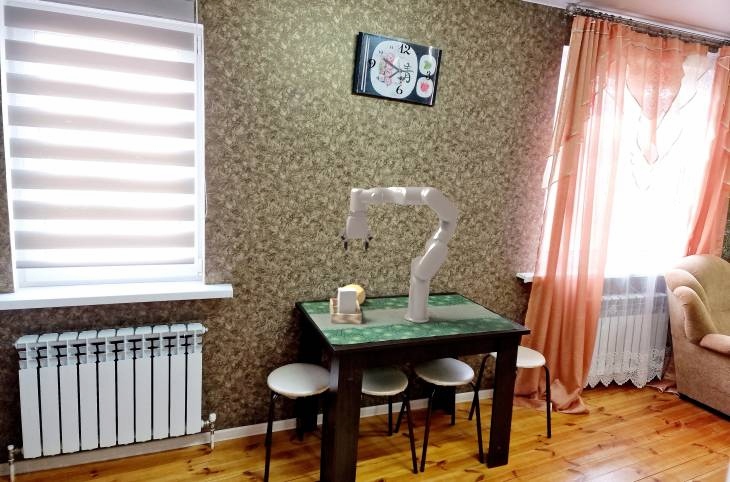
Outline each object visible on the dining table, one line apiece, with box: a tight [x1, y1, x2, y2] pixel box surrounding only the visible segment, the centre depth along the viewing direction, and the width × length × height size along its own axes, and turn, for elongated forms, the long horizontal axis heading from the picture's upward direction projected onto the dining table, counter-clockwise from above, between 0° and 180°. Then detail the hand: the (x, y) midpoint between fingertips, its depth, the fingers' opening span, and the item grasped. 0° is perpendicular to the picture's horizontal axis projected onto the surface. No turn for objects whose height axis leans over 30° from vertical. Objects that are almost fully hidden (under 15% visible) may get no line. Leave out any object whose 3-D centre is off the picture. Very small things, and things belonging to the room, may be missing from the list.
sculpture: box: [343, 283, 366, 306], centre depth 249 cm, size 12×12×11 cm
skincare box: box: [337, 287, 357, 314], centre depth 223 cm, size 8×6×15 cm
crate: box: [329, 297, 363, 325], centre depth 230 cm, size 14×24×5 cm, turn 6°
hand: (356, 249), depth 226 cm, fingers open, 9 cm apart
